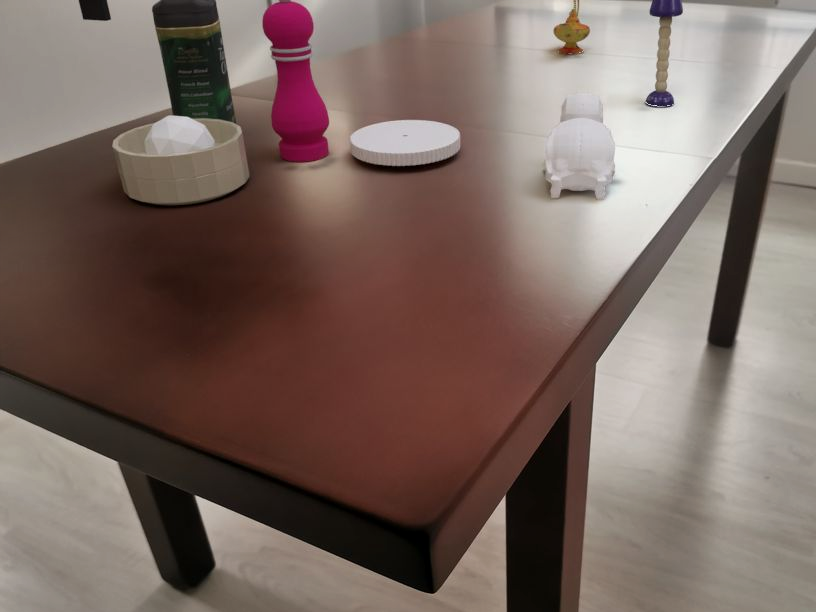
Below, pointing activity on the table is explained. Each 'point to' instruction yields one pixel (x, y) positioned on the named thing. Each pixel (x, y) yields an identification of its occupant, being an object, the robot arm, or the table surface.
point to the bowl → (182, 167)
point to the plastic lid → (405, 142)
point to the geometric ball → (177, 136)
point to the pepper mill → (295, 84)
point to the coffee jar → (194, 58)
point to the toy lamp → (663, 49)
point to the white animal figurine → (580, 148)
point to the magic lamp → (571, 32)
